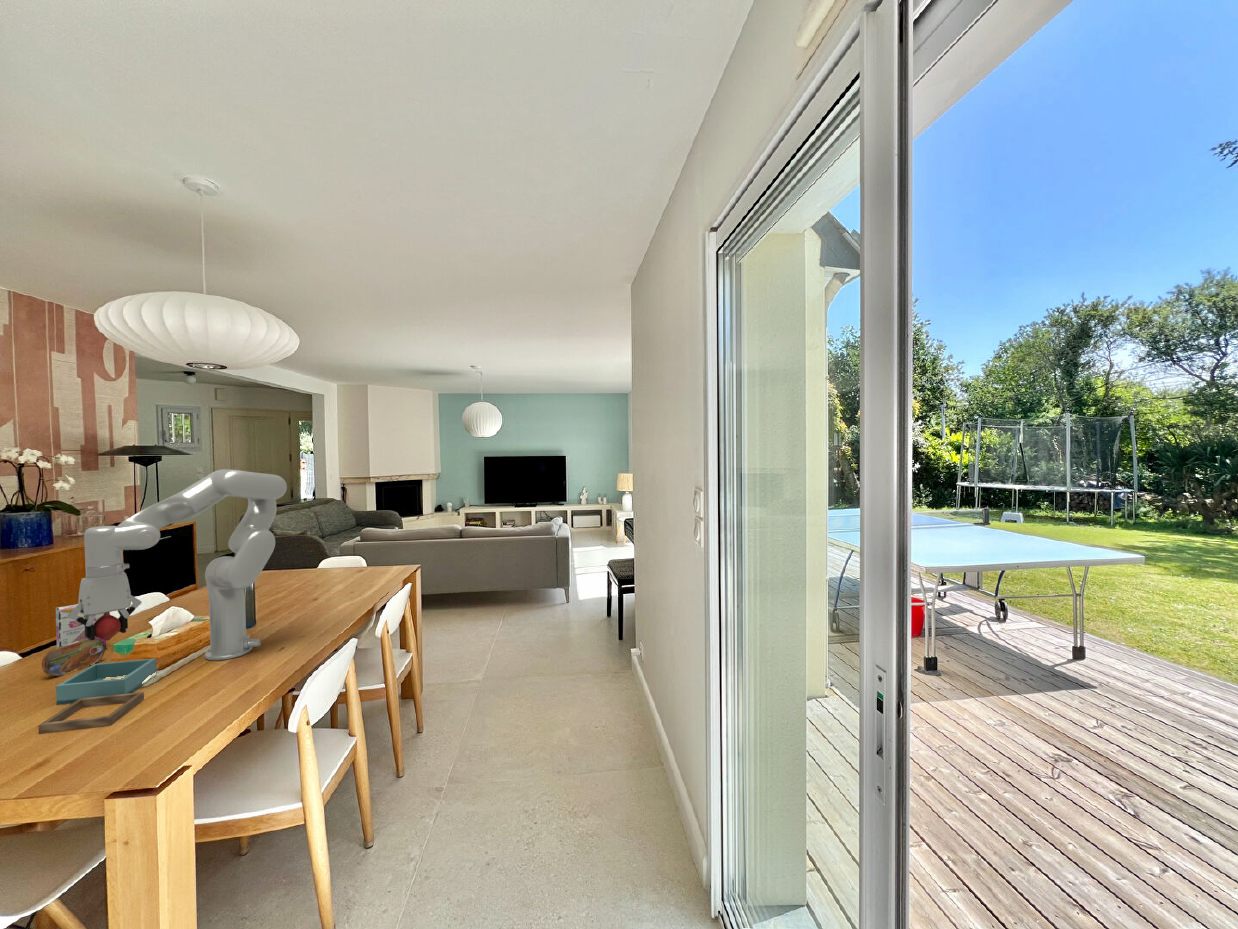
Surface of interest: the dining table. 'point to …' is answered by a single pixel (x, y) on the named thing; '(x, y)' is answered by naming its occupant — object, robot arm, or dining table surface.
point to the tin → (73, 656)
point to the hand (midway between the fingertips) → (107, 635)
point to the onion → (107, 626)
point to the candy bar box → (71, 626)
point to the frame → (59, 725)
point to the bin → (94, 685)
